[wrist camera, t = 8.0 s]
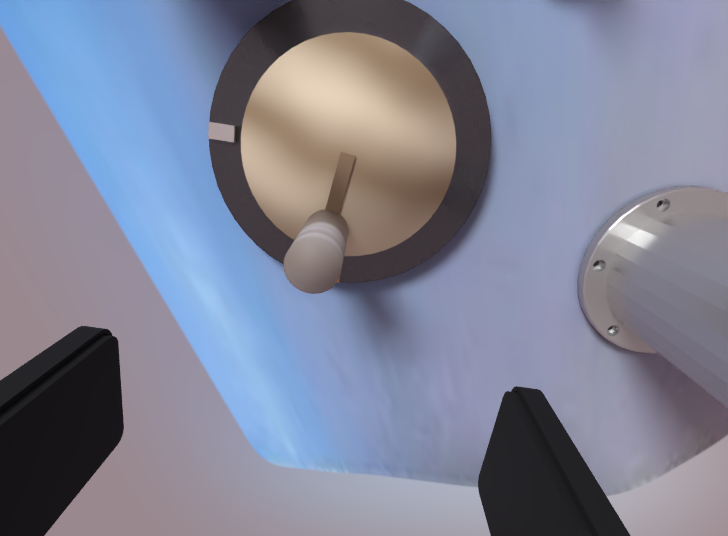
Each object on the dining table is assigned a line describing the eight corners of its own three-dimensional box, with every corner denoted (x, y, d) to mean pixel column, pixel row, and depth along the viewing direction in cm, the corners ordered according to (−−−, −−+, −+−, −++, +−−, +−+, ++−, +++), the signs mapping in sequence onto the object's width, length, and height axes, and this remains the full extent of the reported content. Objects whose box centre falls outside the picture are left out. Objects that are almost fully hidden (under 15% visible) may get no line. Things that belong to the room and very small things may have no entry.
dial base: (516, 22, 25) (527, 15, 23) (451, 291, 31) (456, 301, 29) (222, -29, 25) (210, -40, 23) (213, 256, 30) (203, 264, 29)
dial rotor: (271, 6, 24) (221, -53, 16) (483, 77, 25) (537, 55, 17) (230, 218, 28) (174, 257, 20) (412, 271, 29) (429, 328, 21)
